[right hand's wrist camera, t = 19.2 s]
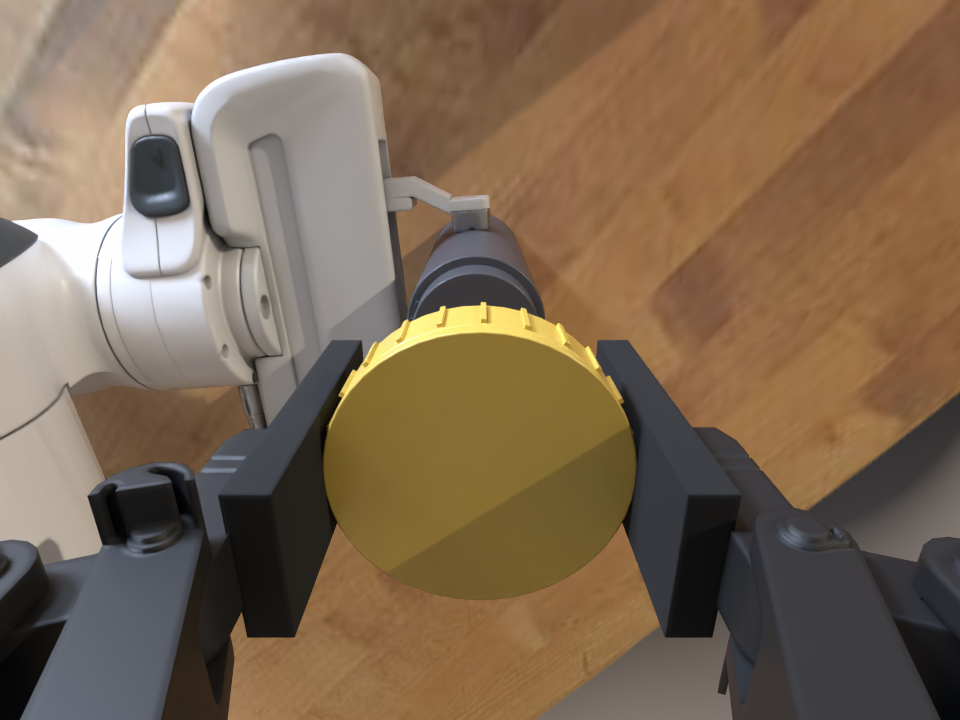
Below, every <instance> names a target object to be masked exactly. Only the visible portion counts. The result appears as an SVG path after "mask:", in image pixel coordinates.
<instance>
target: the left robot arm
mask: <svg viewBox="0 0 960 720" xmlns="http://www.w3.org/2000/svg"><path fill="white" fill-rule="evenodd" d="M417 199H418V200H420V201H423V202H425V203H427V204H429V205H431V206H433V207H435V208H437V209H439V210H441V211H444V212H446V213H448V214H450V215H451V214H452V224H453V233H454V232H465V231H469V230H470V229H471V228H473V229H475V230H481V231H482V230H489V229H491V220H490V203H489V195H474V196H460V197H452V196H451V194H449V193H447V192H446V191H444V190H442V189H440V188H438V187H436V186H434V185H432V184H430V183H428V182H426V181H424V180H422V179H420V178H418V177H416V176H408V177H394V178H391V170H390V162H389V154H388V146H387V138H386V130H385V122H384V114H383V105H382V97H381V89H380V83H379V80H378V78H377V76H376V75H375V74H374V73H373V72H372V71H371V70H370V69H369V68H368V67H367V66H366V65H364V64H363V63H362V62H361V61H359V60H358V59H356V58H354V57H353V56H350V55H347V54H342V53H330V54H318V55H311V56H304V57H298V58H292V59H286V60H281V61H276V62H272V63H267V64H263V65H259V66H255V67H251V68H247V69H244V70H240V71H237V72H234V73H231V74H228V75H225V76H223V77H221V78H219V79H217V80H215V81H214V82H212V83H211V84H209V85H208V86H207V87H206V88H205V89H204V90H203V91H202V92H201V93H200V95H199V96H198V98H197V99H196V102H195V104H194V103H185V102H162V103H153V104H147V105H141V106H138V107H135V108H134V109H132V110H131V112H130V113H129V115H128V118H127V123H126V145H125V191H124V208H123V213H122V214H118V215H115V216H113V217H110V218H108V219H106V220H103V221H101V222H97V223H92V224H83V223H77V222H73V221H69V220H62V219H53V218H46V219H31V220H19V221H9V220H6V219H3V218H0V541H6V540H21V541H28V542H30V543H31V544H33V545H34V546H36V547H37V549H38V552H39V555H40V557H41V560H42V563H43V565H45V564H49V563H54V562H59V561H64V560H69V559H74V558H79V557H84V556H88V555H93V554H96V553H99V551H100V549H101V547H102V542H101V539H100V536H99V532H98V529H97V526H96V523H95V520H94V516H93V513H92V510H91V507H90V504H89V500H88V497H87V496H88V494H89V493H90V492H91V491H92V490H93V489H94V488H95V487H96V486H97V485H98V484H100V483H101V482H103V481H104V480H106V479H107V478H106V477H105V476H104V474H103V472H102V470H101V467H100V465H99V463H98V460H97V458H96V455H95V453H94V451H93V448H92V446H91V444H90V441H89V439H88V436H87V434H86V432H85V429H84V427H83V425H82V422H81V420H80V418H79V415H78V413H77V410H76V408H75V406H74V403H73V401H72V399H71V397H75V396H82V395H88V394H92V393H95V392H98V391H101V390H103V389H106V388H109V387H112V386H129V387H133V388H137V389H143V390H149V391H164V390H179V389H194V388H208V387H224V386H238V390H239V394H240V398H241V402H242V406H243V409H244V412H245V415H246V417H247V419H248V422H249V425H250V429H267V428H268V426H269V425H270V423H271V422H272V421H273V419H274V418H275V417H276V415H277V414H278V413H279V411H280V410H281V409H282V407H283V406H284V404H285V403H286V402H287V400H288V399H289V398H290V396H291V395H292V394H293V392H294V391H295V390H296V388H297V387H298V385H299V384H300V383H301V381H302V380H303V379H304V377H305V376H306V375H307V373H308V372H309V371H310V369H311V368H312V366H313V365H314V364H315V362H316V361H317V360H318V358H319V357H320V356H321V354H322V353H323V352H324V350H325V349H326V347H327V346H328V345H329V343H330V342H331V341H332V340H362V348H363V360H365V358H366V356H367V355H368V353H369V351H370V349H371V347H372V345H373V344H374V343H375V342H378V343H380V342H382V341H383V340H384V339H385V338H386V337H388V336H389V335H390V334H391V333H393V332H394V331H396V330H398V329H399V328H401V326H402V324H403V322H404V321H405V320H407V315H408V309H407V301H406V292H405V284H404V276H403V268H402V260H401V252H400V244H399V236H398V227H397V219H396V211H407V210H411V209H412V208H413V207H414V206H415V205H416V204H417Z"/></svg>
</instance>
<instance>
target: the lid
mask: <svg viewBox="0 0 960 720" xmlns="http://www.w3.org/2000/svg"><path fill="white" fill-rule="evenodd" d="M339 397H341V398H342V400H341V401H340V403H339V404H338V406H337V408H336V410H335V412H334V414H333V416H332V417H331V419H330V421H329V423H328V425H327V427H326V431H327V435H326V438H325V443H324V450H323V457H322V460H323V473H324V481H325V489H326V495H327V498H328V501H329V505H330V508H331V510H332V512H333V514H334V517H335V519H336V521H337V523H338V525H339V526H340V528H341V529H342V531H343V532H344V534H345V535H346V537H347V538H348V540H349V541H350V542H351V543H352V544H353V545H354V546H355V548H356V549H357V550H358V551H359V552H360V553H361V554H362V555H363V556H364V557H365V558H366V559H368V560H369V561H370V562H371V563H372V564H373V565H375V566H376V567H378V568H379V569H380V570H382V571H383V572H385V573H386V574H388V575H389V576H391V577H393V578H395V579H397V580H399V581H401V582H402V583H404V584H407V585H409V586H412V587H414V588H417V589H419V590H422V591H425V592H429V593H432V594H436V595H439V596H445V597H451V598H457V599H470V600H491V599H501V598H509V597H515V596H519V595H523V594H527V593H531V592H534V591H537V590H540V589H543V588H546V587H548V586H551V585H553V584H555V583H557V582H559V581H561V580H563V579H565V578H567V577H568V576H570V575H571V574H573V573H575V572H576V571H578V570H579V569H581V568H582V567H583V566H585V565H586V564H587V563H588V562H590V561H591V560H592V559H593V558H594V557H595V556H596V555H597V554H598V553H599V552H600V551H601V550H602V549H603V548H604V547H605V546H606V545H607V544H608V542H609V541H610V540H611V539H612V537H613V536H614V535H615V533H616V532H617V530H618V528H619V527H620V525H621V523H622V521H623V520H624V518H625V516H626V513H627V511H628V508H629V506H630V503H631V501H632V497H633V492H634V486H635V478H636V470H637V456H636V446H635V442H634V437H633V431H632V429H631V427H630V424H629V422H628V419H627V417H626V414H625V412H624V410H623V408H622V406H621V405H620V404H622V403H624V401H623V399H622V397H621V395H620V393H619V391H618V390H617V388H616V386H615V384H614V382H613V381H612V379H611V377H610V376H607V377H606V376H605V375H604V373H603V371H602V368H601V366H600V365H599V363H598V361H597V359H596V357H595V355H594V353H593V351H592V350H591V348H590V347H589V346H588V347H587V348H586V349H585V348H584V347H583V346H582V345H581V344H580V343H579V342H578V341H577V340H576V339H574V338H573V337H572V336H571V335H569V334H568V333H566V332H565V330H564V328H563V326H562V325H561V324H559V323H558V324H557V325H554V324H552V323H550V322H548V321H546V320H544V319H542V318H540V317H537V316H534V315H531V314H529V313H527V310H526V309H525V308H521V310H520V311H519V310H514V309H509V308H505V307H496V306H486V302H481V306H462V307H456V308H450V309H446V306H443V307H440V311H437V312H434V313H431V314H428V315H425V316H422V317H420V318H418V319H416V320H414V321H411V322H409V320H408V319H407V320H405V321H404V322H403V324H402V326H401V328H399V329H398V330H396V331H394V332H393V333H391V334H390V335H389V336H388V337H386V338H385V339H384V340H383V341H382V342H380V343H378V342H375V343H374V344H373V345H372V347H371V349H370V351H369V353H368V355H367V356H366V358H365V360H364V361H363V363H362V364H361V366H360V367H359V369H358V370H357V371H355V370H352V372H351V374H350V376H349V378H348V379H347V381H346V383H345V385H344V387H343V388H342V390H341V392H340V394H339Z"/></svg>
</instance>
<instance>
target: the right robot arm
mask: <svg viewBox="0 0 960 720" xmlns="http://www.w3.org/2000/svg"><path fill="white" fill-rule="evenodd" d="M596 359H597V361H598V363H599V365H600V366H601V368H602V371H603V373H604V375H605V376H606V377H607V376H610V377H611V379H612V381H613V382H614V384H615V386H616V388H617V390H618V391H619V393H620V395H621V397H622V399H623V401H624V403H622V404H620V405H621V406H622V408H623V410H624V412H625V414H626V417H627V419H628V422H629V424H630V427H631V429H632V431H633V437H634V442H635V446H636V456H637V470H636V478H635V486H634V492H633V497H632V501H631V503H630V506H629V508H628V511H627V513H626V516H625V518H624V520H623V521H622V523H623V526H624V528H625V531H626V534H627V536H628V539H629V542H630V544H631V547H632V550H633V552H634V555H635V558H636V561H637V563H638V566H639V569H640V571H641V574H642V577H643V579H644V582H645V585H646V587H647V590H648V593H649V595H650V598H651V601H652V604H653V606H654V609H655V612H656V614H657V617H658V620H659V622H660V625H661V628H662V630H663V633H664V636H665V637H712V636H713V631H714V626H715V622H716V617H717V612H718V610H719V612H720V614H721V616H722V618H723V620H724V622H725V624H726V626H727V627H728V630H729V631H730V637H729V641H728V646H727V650H726V655H725V659H724V664H723V668H722V672H721V677H720V682H719V688H718V693H721V694H724V695H725V694H726V690H727V686H728V683H729V691H730V699H731V708H732V717H733V720H960V539H959V538H952V537H943V538H933V539H931V540H930V541H928V542H927V543H925V544H924V545H923V548H922V551H921V553H920V556H919V559H918V561H917V562H913V561H908V560H903V559H898V558H893V557H888V556H884V555H879V554H873V553H869V552H865V551H862V550H860V548H859V546H858V544H857V543H856V542H855V540H854V539H853V538H852V537H851V535H850V534H849V533H848V532H847V531H846V530H844V529H843V528H841V527H840V526H839V525H837V524H836V523H835V522H833V521H831V520H829V519H826V518H824V517H822V516H820V515H818V514H816V513H812V512H809V511H805V510H801V509H797V508H793V506H792V505H791V504H790V503H789V502H788V500H787V499H786V498H785V497H784V496H783V495H782V493H781V492H780V491H779V490H778V489H777V488H776V486H775V485H774V484H773V483H772V482H771V481H770V479H769V478H768V477H767V476H766V475H765V473H764V472H763V471H760V469H759V466H758V465H757V464H756V463H755V462H754V461H753V459H752V458H749V455H748V454H747V452H746V451H745V450H744V449H743V448H742V446H741V445H740V444H739V443H738V442H737V441H736V440H735V439H733V438H732V437H730V436H728V435H727V434H725V433H723V432H722V431H720V430H718V429H717V428H692V427H691V425H690V424H689V423H688V421H687V420H686V419H685V417H684V416H683V414H682V413H681V412H680V410H679V409H678V408H677V406H676V405H675V404H674V402H673V401H672V400H671V398H670V397H669V395H668V394H667V393H666V391H665V390H664V389H663V387H662V386H661V385H660V383H659V382H658V381H657V379H656V378H655V376H654V375H653V374H652V372H651V371H650V370H649V368H648V367H647V366H646V364H645V363H644V362H643V360H642V359H641V357H640V356H639V355H638V353H637V352H636V351H635V349H634V348H633V347H632V345H631V344H630V343H629V341H628V340H598V344H597V356H596ZM363 361H364V360H363V348H362V340H332V341H331V342H330V343H329V345H328V346H327V347H326V349H325V350H324V352H323V353H322V354H321V356H320V357H319V358H318V360H317V361H316V362H315V364H314V365H313V366H312V368H311V369H310V371H309V372H308V373H307V375H306V376H305V377H304V379H303V380H302V381H301V383H300V384H299V385H298V387H297V388H296V390H295V391H294V392H293V394H292V395H291V396H290V398H289V399H288V400H287V402H286V403H285V404H284V406H283V407H282V409H281V410H280V411H279V413H278V414H277V415H276V417H275V418H274V419H273V421H272V422H271V423H270V425H269V426H268V428H267V429H244V430H243V431H241V432H240V433H238V434H236V435H235V436H233V437H231V438H230V439H228V440H226V441H225V442H223V444H222V445H221V446H220V447H219V448H218V450H217V451H216V452H215V453H214V454H213V455H212V457H211V460H208V461H207V463H206V464H205V465H204V466H203V467H202V468H201V472H200V473H197V474H196V476H194V471H193V470H192V469H191V468H189V467H188V466H186V465H185V464H180V463H175V462H158V463H150V464H145V465H141V466H136V467H132V468H130V469H127V470H125V471H122V472H120V473H117V474H115V475H113V476H111V477H109V478H108V479H106V480H104V481H103V482H101V483H100V484H98V485H97V486H96V487H95V488H94V489H93V490H92V491H91V492H90V493H89V494H88V496H87V497H88V500H89V504H90V507H91V510H92V513H93V516H94V520H95V523H96V526H97V529H98V532H99V536H100V539H101V542H102V547H101V549H100V551H99V553H96V554H93V555H88V556H84V557H79V558H74V559H69V560H64V561H59V562H54V563H49V564H45V565H43V563H42V560H41V557H40V555H39V552H38V549H37V547H36V546H34V545H33V544H31V543H30V542H28V541H21V540H6V541H0V720H227V719H228V710H229V701H230V692H231V684H232V675H233V666H234V652H233V646H232V641H231V637H230V634H231V632H232V630H233V628H234V626H235V624H236V622H237V620H238V618H239V616H240V614H241V612H242V614H243V619H244V624H245V628H246V633H247V637H295V635H296V632H297V630H298V627H299V624H300V621H301V619H302V616H303V613H304V611H305V608H306V605H307V603H308V600H309V597H310V595H311V592H312V589H313V586H314V584H315V581H316V578H317V576H318V573H319V570H320V568H321V565H322V562H323V560H324V557H325V554H326V552H327V549H328V546H329V543H330V541H331V538H332V535H333V533H334V530H335V527H336V525H337V521H336V519H335V517H334V514H333V512H332V510H331V508H330V505H329V501H328V498H327V495H326V489H325V481H324V473H323V460H322V457H323V450H324V443H325V438H326V435H327V431H326V427H327V425H328V423H329V421H330V419H331V417H332V416H333V414H334V412H335V410H336V408H337V406H338V404H339V403H340V401H341V400H342V398H341V397H339V394H340V392H341V390H342V388H343V387H344V385H345V383H346V381H347V379H348V378H349V376H350V374H351V372H352V370H355V371H357V370H358V369H359V367H360V366H361V364H362V363H363Z"/></svg>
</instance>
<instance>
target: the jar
mask: <svg viewBox="0 0 960 720" xmlns="http://www.w3.org/2000/svg"><path fill="white" fill-rule="evenodd" d="M490 220H491V229H489V230H482V231H481V230H475V229H473V228H471V229H470V230H469V231H465V232H454V233H453V224H452V221H451V222H449V223H448V224H447V225H446V226H445V227H444V228H443V230H442V231H441V233H440V234H439V236H438V238H437V241H436V243H435V245H434V247H433V250H432V252H431V254H430V257H429V259H428V261H427V263H426V266H425V268H424V270H423V273H422V275H421V277H420V280H419V282H418V284H417V286H416V289H415V291H414V293H413V296H412V298H411V301H410V304H409V308H408V315H407V319H408V320H409V322H411V321H414V320H416V319H418V318H420V317H422V316H425V315H428V314H431V313H434V312H437V311H440V307H443V306H446V309H450V308H456V307H462V306H481V302H486V306H496V307H505V308H509V309H514V310H519V311H520V310H521V308H525V309H526V310H527V313H529V314H531V315H534V316H537V317H540V318H542V319H544V320H545V313H544V308H543V303H542V301H541V298H540V295H539V293H538V291H537V288H536V286H535V283H534V281H533V279H532V276H531V274H530V272H529V269H528V267H527V264H526V262H525V260H524V257H523V255H522V253H521V250H520V248H519V245H518V243H517V241H516V238H515V236H514V234H513V233H512V231H511V230H510V228H509V227H508V226H507V225H506V224H505V223H503V222H502V221H501V220H499V219H498V218H496V217H494V216H492V215H490Z"/></svg>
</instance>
